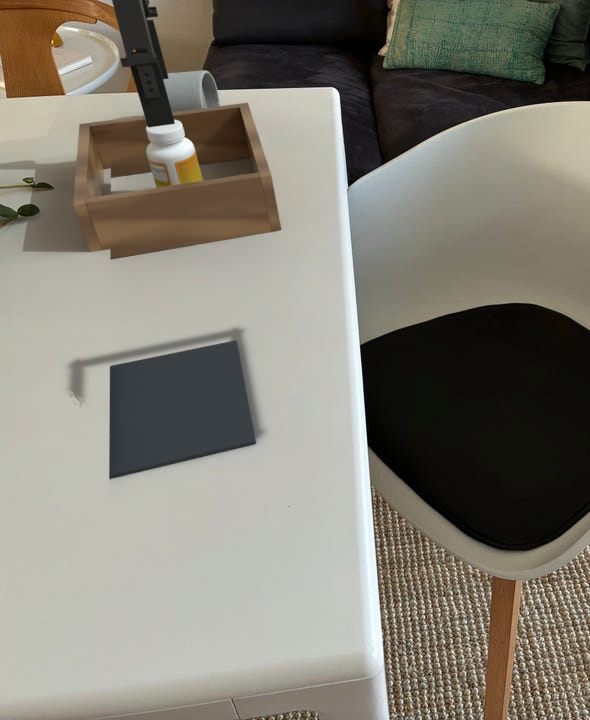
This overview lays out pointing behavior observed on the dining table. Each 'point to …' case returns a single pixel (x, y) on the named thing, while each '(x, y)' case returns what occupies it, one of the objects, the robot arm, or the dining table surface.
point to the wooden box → (176, 202)
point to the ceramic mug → (191, 90)
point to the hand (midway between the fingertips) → (158, 100)
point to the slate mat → (177, 408)
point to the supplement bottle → (172, 156)
